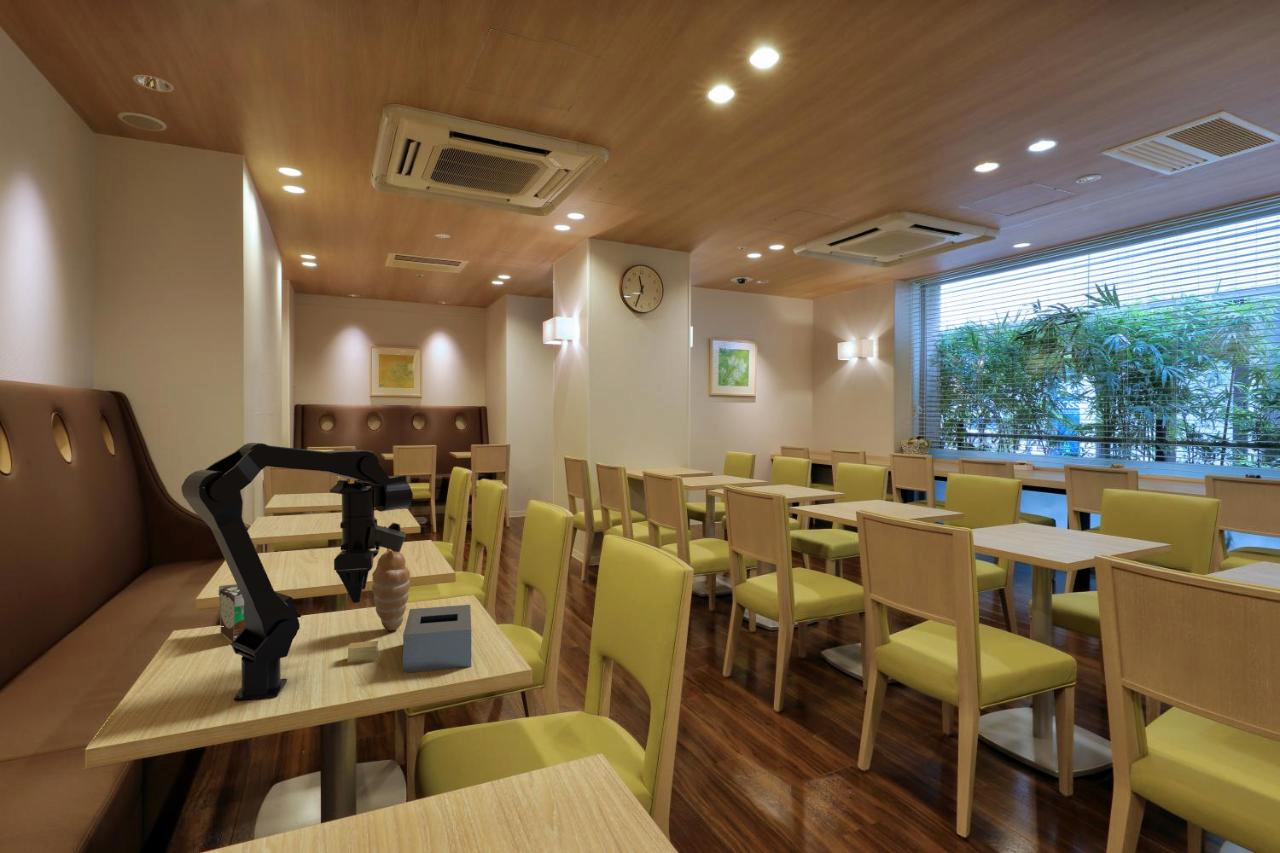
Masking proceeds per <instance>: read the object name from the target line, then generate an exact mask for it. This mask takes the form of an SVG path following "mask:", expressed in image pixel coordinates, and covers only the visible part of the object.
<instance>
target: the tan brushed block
mask: <svg viewBox="0 0 1280 853" xmlns="http://www.w3.org/2000/svg"><path fill="white" fill-rule="evenodd" d="M378 657H379V640H374V641H373V640H372V641H371V640H370V641H362V642H350V643H349V645H348V648H347V664H348V665H349V664H356V663H357V664H359V663H369V662H376V661H377V660H378Z"/></svg>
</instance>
